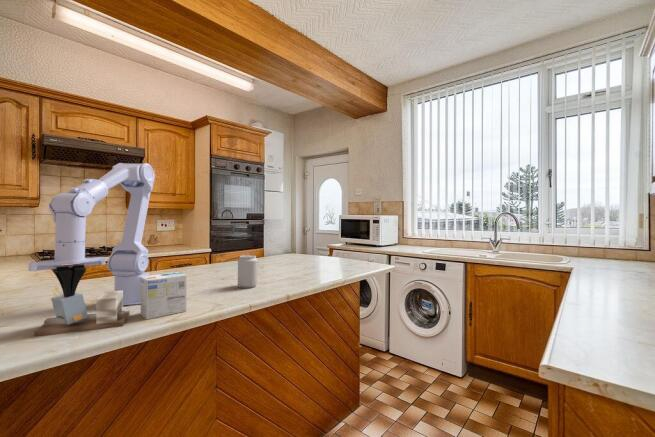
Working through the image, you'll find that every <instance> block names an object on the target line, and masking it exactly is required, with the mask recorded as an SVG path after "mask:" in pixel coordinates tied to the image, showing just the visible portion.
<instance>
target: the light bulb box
mask: <svg viewBox="0 0 655 437" xmlns="http://www.w3.org/2000/svg"><path fill="white" fill-rule="evenodd" d="M149 275H150V274H149ZM140 298H141V304H140V315H141V316H142V317H143V318H144V319H145V320H151V319H155V318H160V317H165V316H170V315H173V314H179V313H183V312H187V311H188V310H187V308H188V307H187V274H186V273H183V272H181V271H175V272H168V273H160V274H152V275H150V276H141V277H140Z"/></svg>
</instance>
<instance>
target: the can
mask: <svg viewBox="0 0 655 437" xmlns="http://www.w3.org/2000/svg"><path fill="white" fill-rule="evenodd" d="M258 262H259V259H258V258H257V256H256V255H255V254H254V255H253V254H243V255H240V256H239V259H237V286H238V287H239V288H241V289H251V288H254V287H256V286H257V285H258V280H259V279H258V278H259V275H258V271H259V268H258V266H259V265H258V264H259V263H258Z"/></svg>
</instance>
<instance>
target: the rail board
mask: <svg viewBox="0 0 655 437" xmlns="http://www.w3.org/2000/svg"><path fill="white" fill-rule="evenodd" d="M95 302H96V307H95V308H96V310H95V311H96V312H95V313H87V316H88V318H85V319H82V320H79V321H77V322H74V323H71V324H68V325H67V324H66V323H65V319H64V317H56V316H55V317H48V318H46V319H45V320H44V321H43V325H41V326H40V327H39V328H37V329H36V330H35V331H34V334H33V335H34V337H37V336H46V335H53V334H54V335H55V334H63V333H71V332H81V331H89V330H98V329H107V328H116V327H123V326H124V325H125V322H126V321H127V319H128V318H129V317H130V315H131V314H130V311H129V310H128V311H127V310H126V311H125V310H124V309H123V308H124V305H123V290H122V291H115V290H110V291H109V290H108V291H104V292H103V293H102V294H101V295H100V296H99V297H98V298H96V301H95Z"/></svg>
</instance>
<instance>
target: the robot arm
mask: <svg viewBox="0 0 655 437" xmlns="http://www.w3.org/2000/svg"><path fill="white" fill-rule="evenodd" d="M155 177H156V174H155V170H154V169H153V167H152V165H151V164H150V163H148V162H147V163H146V162H145V163H124V162H123V163H122V162H119V163H118V162H117V163H116V164H114V165H113V166H112V168H111V170H110V171H108V172H107V173H105V174H104V175H103V176H101V177H99V179H96V178H86V179H84V180H83V183H82V184H80V185H77V186H76V187H71V188H70V189H69V191H68V192H66V193H64V192H61V193H58V194H55V196H53V197H52V199H51V200H50V202H49V203H48V208H49V211H50V212H51V214H52V220H53V221H54V224H55V228H54V229H55V230H54V231H55V233H54V259H50V260H49V259H48V260H41V261H40V260H39V261H29V262H28V271H29V272H37V271H43V270H44V271H46V270H47V271H48V270H52V273H54V275H55V277H56V278H57V280H58V282H59V284H60V286H61V290H62V294H64V297H70V296H74V295H75V293H76V291H77V288H78V285H79V283H80V281H81V279H82V277H83V276H84V275H85V273H86V271H87V267H91V266H103V265H104V266H105V265H107V268H108V270H109V272H111V275H112V276H114V291H122V290H123V306H131V305H132V306H133V305H141V298H140V277H141V276H150V273H148V272H146V273H145V271H146V270H147V269H148V267H149V262H150V261H149V249H148V248H147V247H145V246H144V245H143V244H142V241H143V240H142V239H143V237H144V236H143V235H144V230H145V225H146V224H145V223H146V220H147V214H148V210H149V209H148V208H149V202H150V199H151V198H150V197H151V194H152V193H151V192H152V191H153V188H154V184H155V179H156V178H155ZM119 184H120V186H121V187H122V188H123V189H124V191H126V192H128V193H129V194H130V199H129V203H128V208H127V214H126V218H125V223H124V228H123V233H122V237H121V238H122V239H121V242H120V243H118V244H117V245H115V246H114V247H112V251H111V254H110V255H109V257H108V259H107V258H106V256H105V257H104V256H97V257H95V256H94V257H86V230H87V229H86V225H87V224H86V223H87V221H86V220H87V216H89V215H90V214H91V213H92V211H93V208H94V207H95V206H96V204H98V203H99V202H100V201H102V200H103V199H104V198H106V197H107V196H108V194H109V190H111V189H112V188H114V187H116V186H118V185H119ZM106 259H107V260H106ZM106 261H107V264H106Z"/></svg>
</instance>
